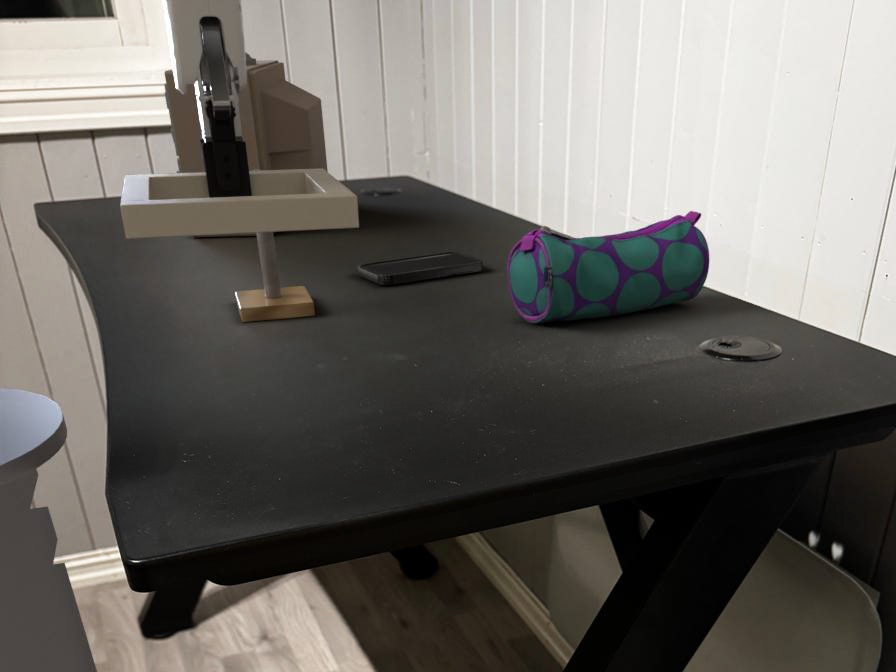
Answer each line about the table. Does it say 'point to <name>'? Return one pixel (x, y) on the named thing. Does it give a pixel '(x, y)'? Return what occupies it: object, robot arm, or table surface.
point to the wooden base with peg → (272, 290)
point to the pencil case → (607, 271)
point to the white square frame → (235, 204)
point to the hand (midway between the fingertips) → (229, 196)
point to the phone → (419, 268)
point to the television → (255, 123)
